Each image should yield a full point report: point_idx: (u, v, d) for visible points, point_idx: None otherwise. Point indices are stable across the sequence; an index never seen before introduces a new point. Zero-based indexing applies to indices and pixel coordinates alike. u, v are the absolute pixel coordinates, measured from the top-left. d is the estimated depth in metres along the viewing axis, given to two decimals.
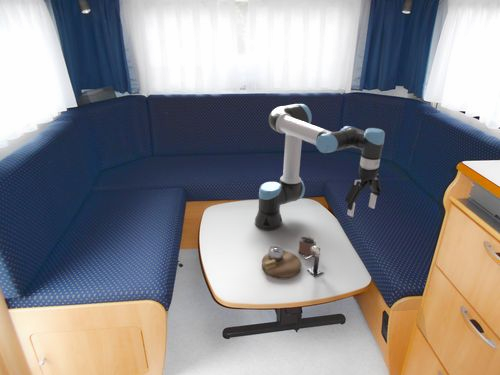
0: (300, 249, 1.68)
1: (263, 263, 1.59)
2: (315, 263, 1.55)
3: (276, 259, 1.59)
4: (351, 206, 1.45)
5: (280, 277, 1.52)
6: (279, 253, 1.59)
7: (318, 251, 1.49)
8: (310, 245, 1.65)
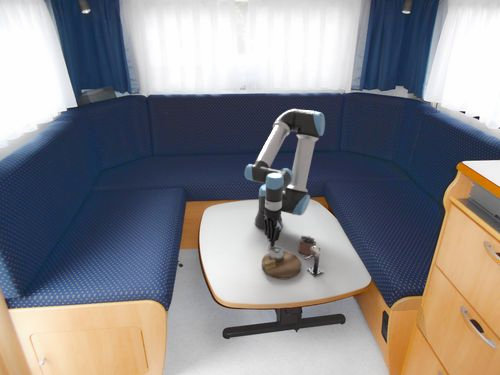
0: (300, 249, 1.68)
1: (263, 263, 1.59)
2: (315, 263, 1.55)
3: (277, 260, 1.59)
4: (268, 240, 1.63)
5: (280, 277, 1.52)
6: (280, 254, 1.59)
7: (318, 251, 1.49)
8: (310, 245, 1.65)
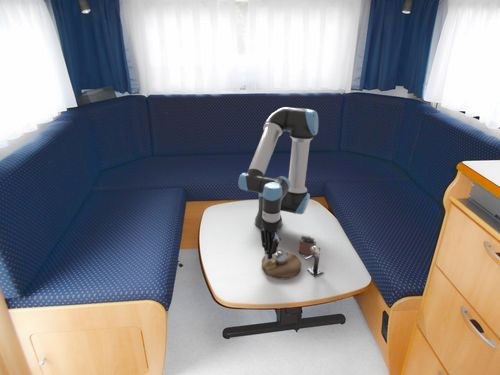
0: (300, 249, 1.68)
1: (263, 264, 1.58)
2: (315, 263, 1.55)
3: (280, 263, 1.57)
4: None
5: (281, 277, 1.52)
6: (283, 257, 1.57)
7: (318, 251, 1.49)
8: (310, 245, 1.65)
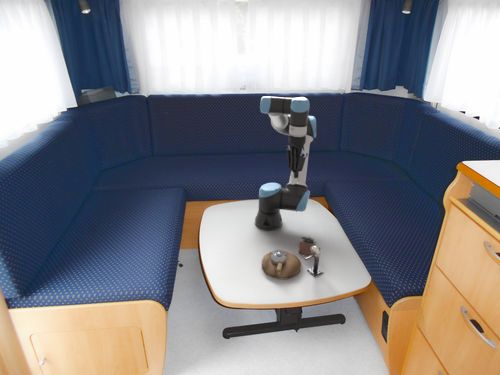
0: (300, 249, 1.68)
1: (270, 271, 1.54)
2: (315, 263, 1.55)
3: (284, 262, 1.57)
4: (291, 172, 1.60)
5: (294, 275, 1.54)
6: (285, 255, 1.57)
7: (318, 251, 1.49)
8: (310, 245, 1.65)
